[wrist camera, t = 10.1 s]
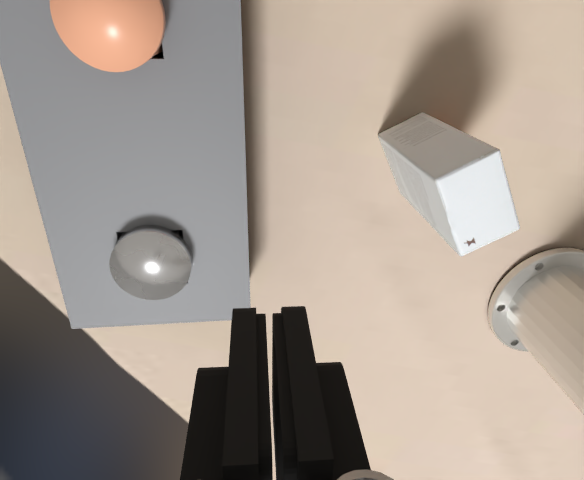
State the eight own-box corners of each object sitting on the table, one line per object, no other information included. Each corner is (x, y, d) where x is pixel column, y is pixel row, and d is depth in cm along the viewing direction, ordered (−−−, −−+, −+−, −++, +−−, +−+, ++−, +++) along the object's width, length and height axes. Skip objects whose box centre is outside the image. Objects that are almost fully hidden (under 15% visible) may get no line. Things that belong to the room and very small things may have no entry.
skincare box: (443, 171, 38) (523, 231, 28) (398, 193, 39) (459, 260, 28) (423, 108, 35) (502, 147, 25) (375, 132, 36) (432, 181, 25)
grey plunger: (194, 197, 36) (187, 231, 30) (200, 257, 38) (193, 298, 33) (123, 199, 35) (102, 233, 29) (134, 259, 38) (116, 301, 32)
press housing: (237, -88, 28) (237, -111, 23) (248, 279, 41) (250, 318, 36) (6, -98, 27) (-51, -126, 21) (94, 286, 39) (71, 328, 34)
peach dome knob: (171, -35, 27) (155, -47, 22) (180, 61, 30) (168, 72, 24) (78, -38, 27) (37, -51, 21) (95, 61, 29) (63, 71, 24)
